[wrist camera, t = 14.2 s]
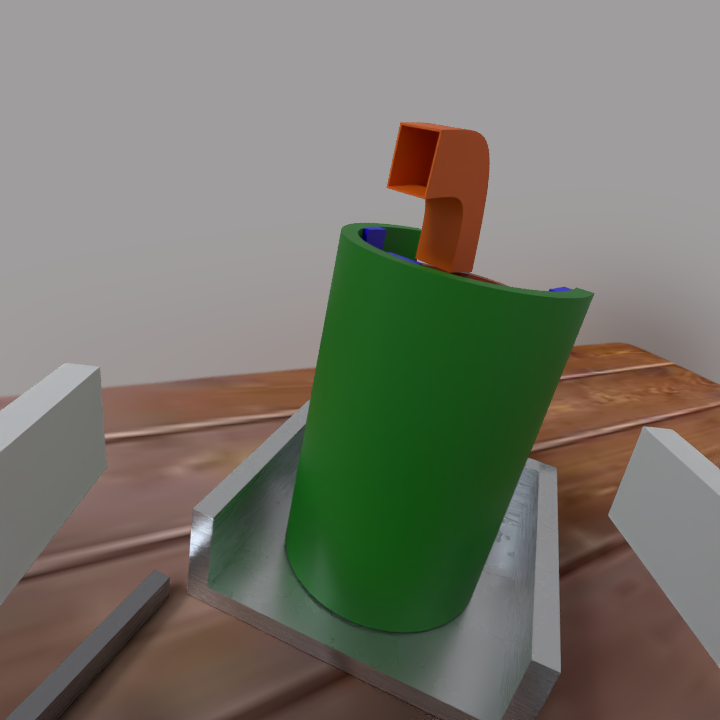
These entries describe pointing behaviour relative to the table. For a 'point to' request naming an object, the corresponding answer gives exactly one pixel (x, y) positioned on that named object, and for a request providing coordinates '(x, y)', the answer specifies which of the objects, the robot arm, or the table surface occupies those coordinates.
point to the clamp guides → (94, 652)
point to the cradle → (382, 648)
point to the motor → (421, 400)
